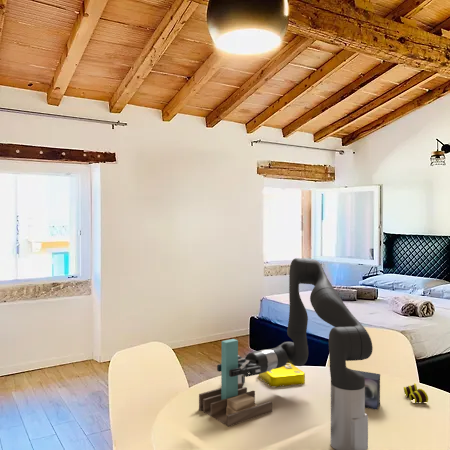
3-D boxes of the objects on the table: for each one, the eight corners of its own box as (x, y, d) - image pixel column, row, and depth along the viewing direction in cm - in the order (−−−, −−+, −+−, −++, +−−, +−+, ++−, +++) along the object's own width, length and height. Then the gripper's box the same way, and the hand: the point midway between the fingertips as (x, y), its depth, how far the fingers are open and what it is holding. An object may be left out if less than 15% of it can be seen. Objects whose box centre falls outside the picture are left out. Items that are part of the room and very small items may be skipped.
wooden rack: (272, 416, 142) (272, 395, 142) (228, 431, 131) (228, 409, 131) (240, 400, 155) (240, 382, 155) (198, 413, 144) (198, 393, 144)
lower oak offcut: (257, 412, 141) (257, 405, 141) (236, 420, 136) (236, 412, 136) (247, 407, 145) (247, 400, 145) (226, 414, 140) (226, 406, 140)
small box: (345, 404, 152) (345, 374, 152) (349, 398, 158) (349, 368, 158) (377, 410, 147) (377, 379, 147) (380, 403, 153) (380, 373, 153)
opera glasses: (403, 397, 162) (401, 383, 162) (417, 394, 161) (415, 381, 162) (414, 407, 152) (412, 393, 152) (429, 404, 152) (427, 390, 152)
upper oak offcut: (254, 405, 141) (254, 397, 141) (236, 411, 136) (236, 403, 136) (245, 401, 144) (245, 393, 144) (227, 407, 140) (227, 399, 140)
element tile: (257, 375, 182) (257, 364, 182) (290, 372, 187) (290, 361, 187) (271, 388, 168) (271, 376, 168) (306, 384, 172) (306, 372, 172)
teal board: (237, 406, 146) (238, 340, 146) (225, 410, 143) (226, 342, 143) (233, 404, 148) (233, 338, 148) (221, 407, 145) (221, 341, 145)
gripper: (248, 346, 160) (210, 354, 150) (276, 355, 149) (237, 364, 138) (248, 367, 160) (210, 376, 150) (275, 377, 149) (237, 388, 138)
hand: (223, 370), depth 144 cm, fingers open, 6 cm apart
